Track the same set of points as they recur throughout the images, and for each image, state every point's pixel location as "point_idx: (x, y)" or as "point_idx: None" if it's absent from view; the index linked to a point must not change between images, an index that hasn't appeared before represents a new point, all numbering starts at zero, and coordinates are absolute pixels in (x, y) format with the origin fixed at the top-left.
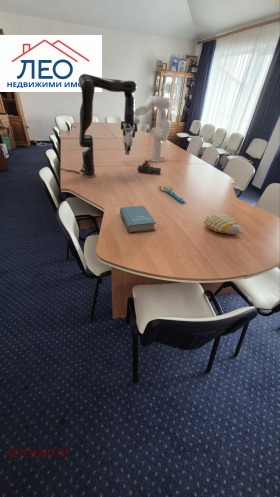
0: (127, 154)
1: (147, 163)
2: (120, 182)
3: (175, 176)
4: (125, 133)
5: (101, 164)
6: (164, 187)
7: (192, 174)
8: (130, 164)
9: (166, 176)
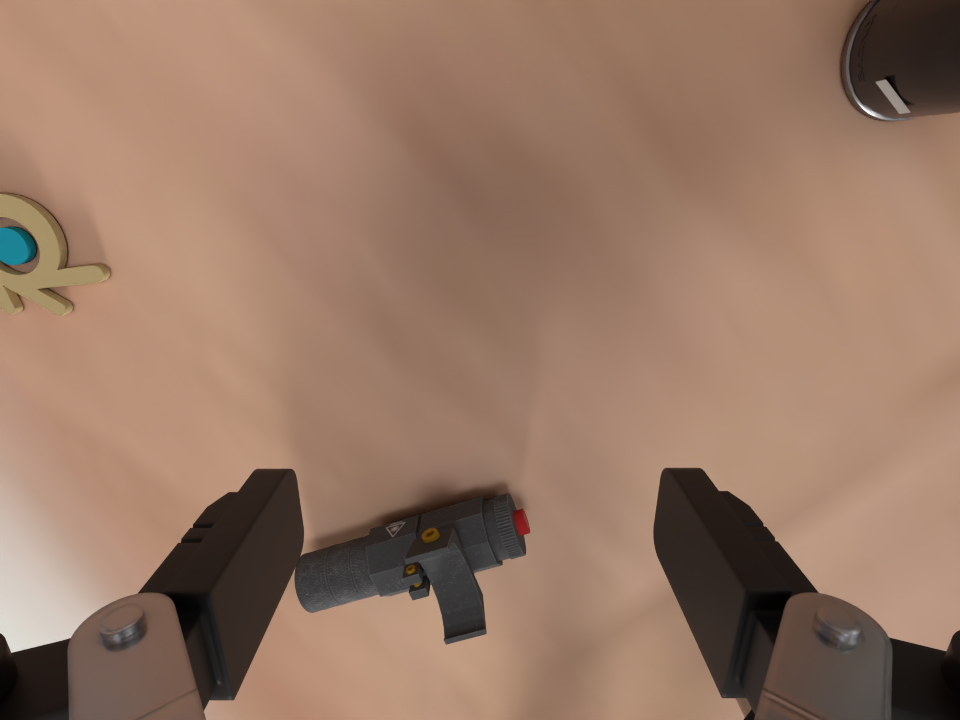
0: None
1: (447, 608)
2: (483, 114)
3: None
4: (681, 600)
5: (947, 456)
6: (43, 270)
7: None
8: None
9: None
